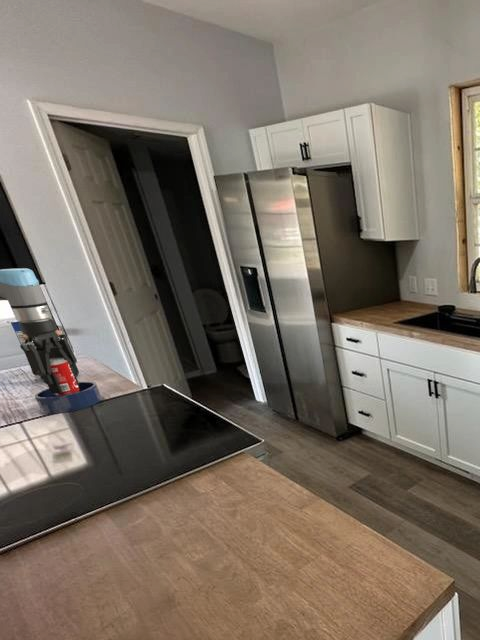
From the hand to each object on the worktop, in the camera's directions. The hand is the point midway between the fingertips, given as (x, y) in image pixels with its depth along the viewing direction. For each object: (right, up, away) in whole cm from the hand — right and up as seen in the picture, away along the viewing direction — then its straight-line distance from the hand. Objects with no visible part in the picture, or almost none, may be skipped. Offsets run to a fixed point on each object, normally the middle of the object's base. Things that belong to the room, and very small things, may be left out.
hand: (65, 388), depth 136 cm
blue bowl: (0, -5, +2) cm, 6 cm away
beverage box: (-43, +7, +35) cm, 56 cm away
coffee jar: (-31, +4, +27) cm, 41 cm away
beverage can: (0, -2, +1) cm, 2 cm away
